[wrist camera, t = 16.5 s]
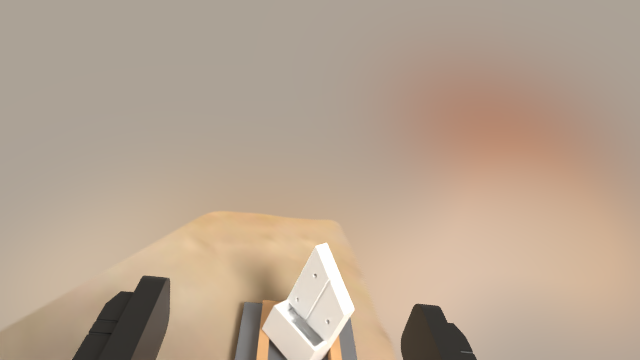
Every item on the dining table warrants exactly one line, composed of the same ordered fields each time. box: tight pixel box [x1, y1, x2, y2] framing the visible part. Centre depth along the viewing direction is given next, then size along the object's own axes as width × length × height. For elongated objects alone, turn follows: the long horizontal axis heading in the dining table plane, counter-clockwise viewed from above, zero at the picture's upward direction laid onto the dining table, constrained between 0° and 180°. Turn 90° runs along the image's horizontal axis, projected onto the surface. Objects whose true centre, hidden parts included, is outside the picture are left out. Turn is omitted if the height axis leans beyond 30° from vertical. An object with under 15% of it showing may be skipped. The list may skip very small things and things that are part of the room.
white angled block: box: [262, 243, 355, 360], centre depth 36 cm, size 4×10×9 cm
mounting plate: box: [235, 300, 357, 360], centre depth 37 cm, size 12×12×2 cm
